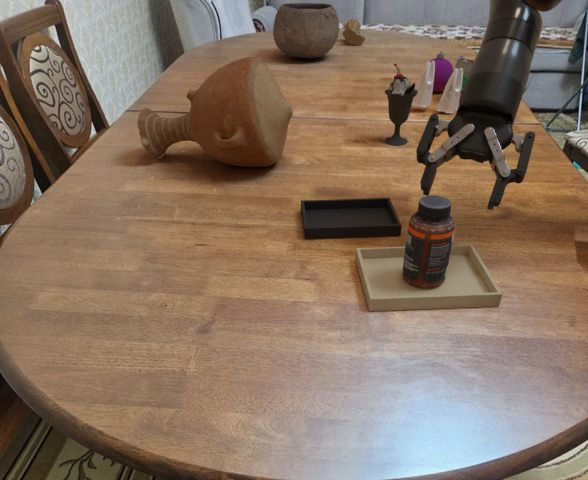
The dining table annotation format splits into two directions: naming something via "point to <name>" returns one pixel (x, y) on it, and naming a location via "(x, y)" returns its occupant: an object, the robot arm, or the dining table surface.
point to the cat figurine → (353, 32)
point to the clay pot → (306, 29)
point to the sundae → (399, 105)
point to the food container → (464, 70)
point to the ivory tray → (403, 296)
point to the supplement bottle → (429, 242)
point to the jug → (227, 117)
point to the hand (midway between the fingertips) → (457, 200)
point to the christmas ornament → (441, 72)
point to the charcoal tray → (349, 218)
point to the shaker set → (425, 89)
